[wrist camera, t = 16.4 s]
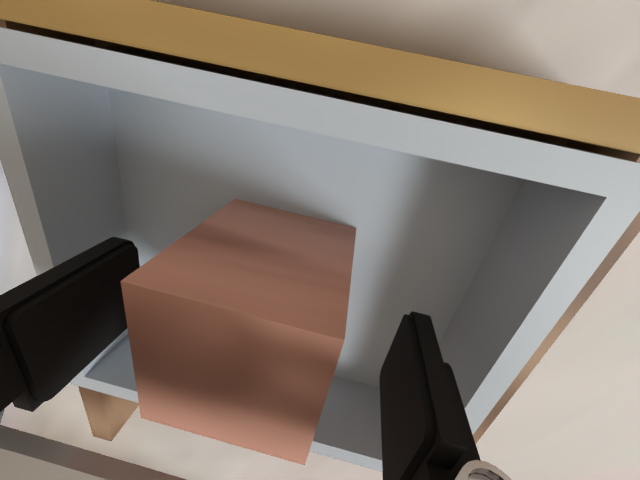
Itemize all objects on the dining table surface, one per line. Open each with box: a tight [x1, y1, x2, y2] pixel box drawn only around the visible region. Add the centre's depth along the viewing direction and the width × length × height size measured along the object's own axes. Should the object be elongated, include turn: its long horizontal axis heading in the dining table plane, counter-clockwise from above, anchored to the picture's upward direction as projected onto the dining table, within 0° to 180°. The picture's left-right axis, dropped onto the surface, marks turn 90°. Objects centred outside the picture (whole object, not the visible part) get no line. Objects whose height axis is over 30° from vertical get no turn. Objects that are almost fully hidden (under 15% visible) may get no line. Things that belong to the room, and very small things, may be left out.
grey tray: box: [0, 27, 640, 472], centre depth 11 cm, size 14×17×4 cm
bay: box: [0, 0, 640, 444], centre depth 14 cm, size 23×20×5 cm
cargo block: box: [121, 199, 356, 465], centre depth 10 cm, size 5×5×6 cm
